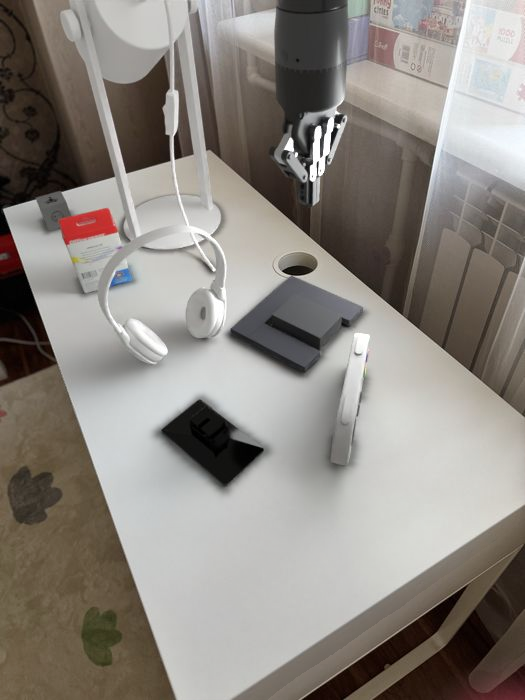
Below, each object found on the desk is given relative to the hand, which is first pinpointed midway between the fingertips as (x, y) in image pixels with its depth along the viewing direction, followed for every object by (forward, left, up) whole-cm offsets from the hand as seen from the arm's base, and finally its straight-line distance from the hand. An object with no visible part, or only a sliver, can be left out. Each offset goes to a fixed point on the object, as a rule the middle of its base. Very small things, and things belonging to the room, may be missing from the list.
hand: (308, 202), depth 68 cm
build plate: (-2, +25, -22) cm, 33 cm away
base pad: (+2, 0, -22) cm, 22 cm away
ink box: (+36, +10, -22) cm, 43 cm away
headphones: (+14, +14, -22) cm, 30 cm away
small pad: (0, 0, -22) cm, 22 cm away
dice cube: (+59, +3, -22) cm, 63 cm away
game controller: (-14, +10, -22) cm, 28 cm away
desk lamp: (+36, -9, -22) cm, 43 cm away
